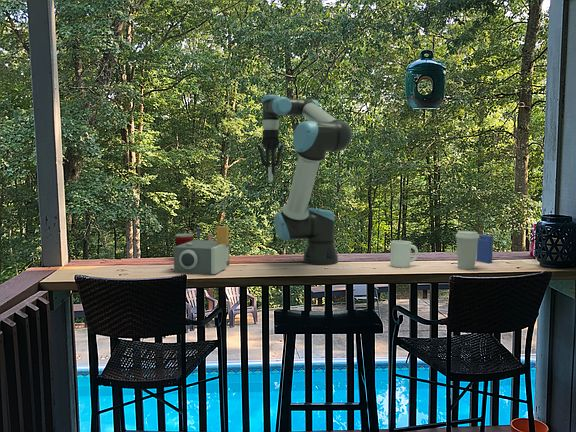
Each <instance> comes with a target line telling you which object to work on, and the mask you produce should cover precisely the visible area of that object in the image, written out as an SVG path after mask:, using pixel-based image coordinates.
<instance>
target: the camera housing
mask: <svg viewBox="0 0 576 432" xmlns="http://www.w3.org/2000/svg"><path fill="white" fill-rule="evenodd" d="M218 245H220V244H217V240H206V239H202V240H201V239H193V240H192V241H190V242H187V243H184V244H181V245H178V246H173V272H174V273H181V274H182V273H184V274H185V273H186V274H202V275H212V274H211V248H213V247H215V246H218ZM228 266H230V243H229V244H227V245H226V267H228Z"/></svg>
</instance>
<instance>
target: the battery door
mask: <svg viewBox="0 0 576 432" xmlns="http://www.w3.org/2000/svg"><path fill="white" fill-rule="evenodd" d="M229 239H230V238H229V226H224V225H223V226H222V225H221V226H219V225H218V226H216V241H217V244H220V245H218V246H215V247H213V248H211V274H210V275H215V274H218V273H220V272H221V271H223V270H225V269H227V266H226V245H227V244H229V245H230V241H229Z"/></svg>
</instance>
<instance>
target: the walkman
mask: <svg viewBox="0 0 576 432" xmlns="http://www.w3.org/2000/svg"><path fill="white" fill-rule="evenodd" d="M478 235H479V238H478V244H477V252H476V259H475V262H479V263H485V264H492V263H493V249H494V248H493V246H494V236H493V235H491V234H479V233H478Z"/></svg>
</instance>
